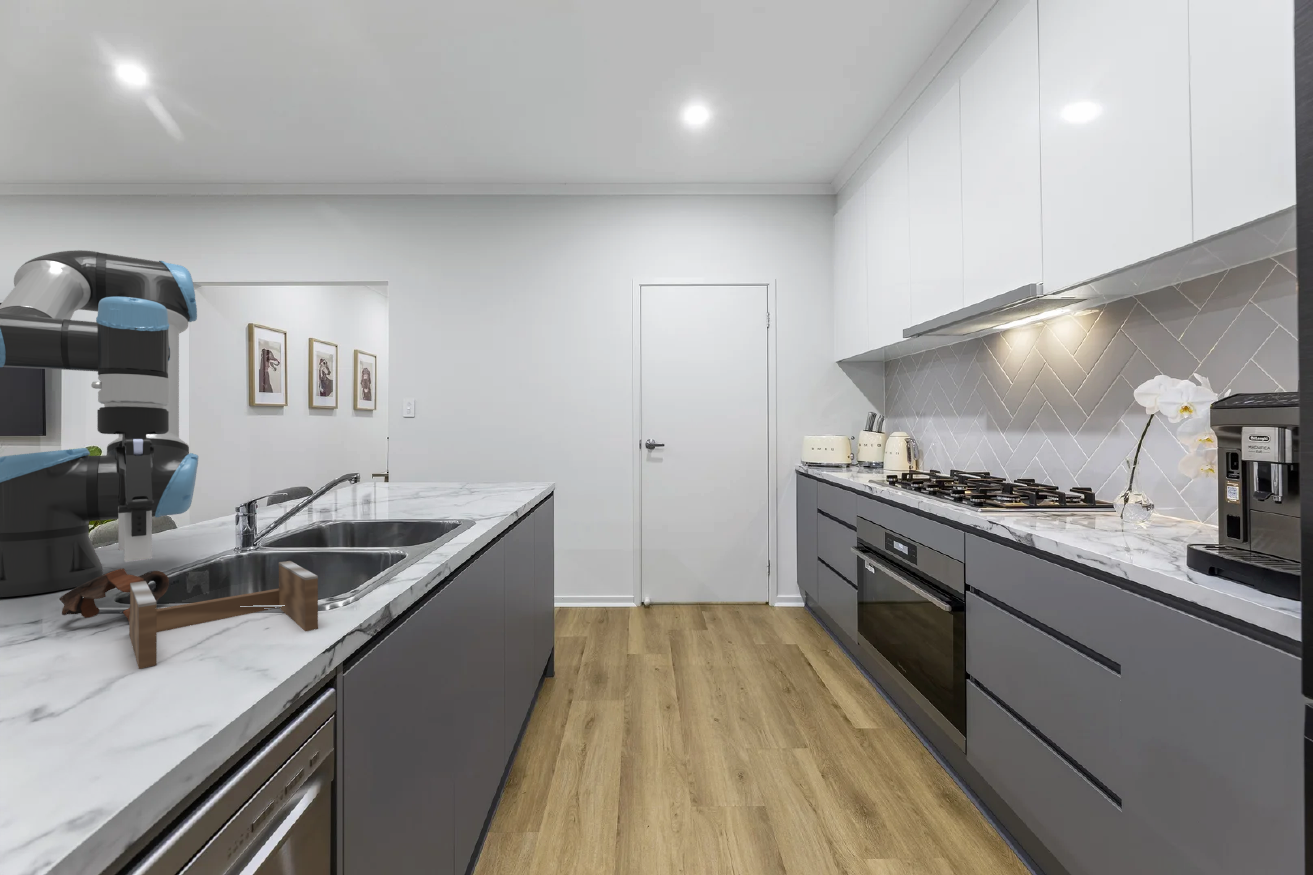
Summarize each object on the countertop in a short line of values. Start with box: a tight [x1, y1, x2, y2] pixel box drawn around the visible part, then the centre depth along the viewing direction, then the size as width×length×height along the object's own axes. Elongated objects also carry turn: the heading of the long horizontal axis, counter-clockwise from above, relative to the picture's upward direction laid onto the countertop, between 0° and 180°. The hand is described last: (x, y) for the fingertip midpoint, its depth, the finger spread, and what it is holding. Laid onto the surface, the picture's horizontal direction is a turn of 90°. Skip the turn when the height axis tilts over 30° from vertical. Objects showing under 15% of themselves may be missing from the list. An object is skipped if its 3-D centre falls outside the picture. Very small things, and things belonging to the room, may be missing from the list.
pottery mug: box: [59, 568, 170, 622], centre depth 81 cm, size 12×9×8 cm
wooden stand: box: [128, 560, 319, 670], centre depth 75 cm, size 16×18×7 cm
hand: (134, 554), depth 80 cm, fingers open, 13 cm apart
